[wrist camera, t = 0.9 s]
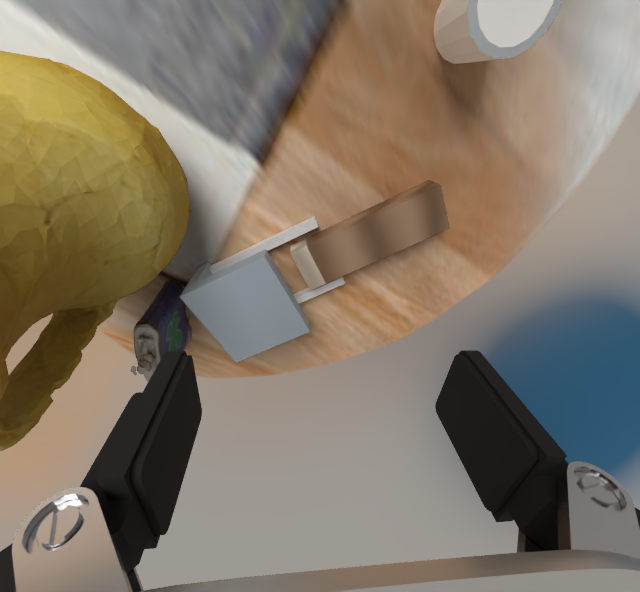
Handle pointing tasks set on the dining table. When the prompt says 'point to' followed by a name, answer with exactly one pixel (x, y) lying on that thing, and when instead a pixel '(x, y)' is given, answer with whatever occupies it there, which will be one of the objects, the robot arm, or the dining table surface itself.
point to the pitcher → (73, 221)
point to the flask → (161, 329)
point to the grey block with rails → (251, 298)
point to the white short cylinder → (490, 28)
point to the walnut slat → (371, 235)
